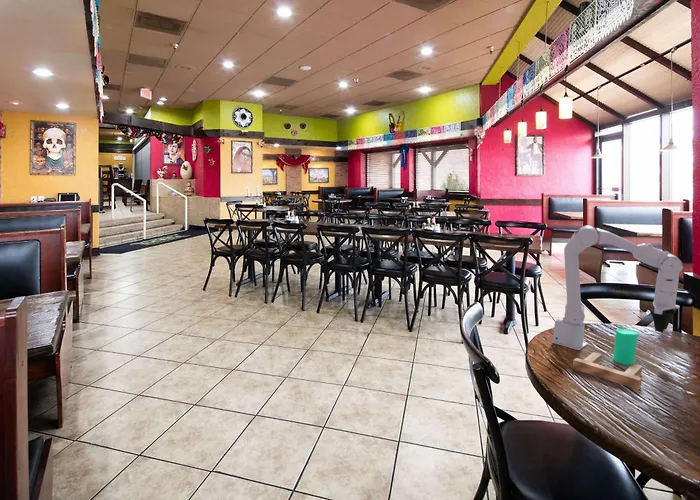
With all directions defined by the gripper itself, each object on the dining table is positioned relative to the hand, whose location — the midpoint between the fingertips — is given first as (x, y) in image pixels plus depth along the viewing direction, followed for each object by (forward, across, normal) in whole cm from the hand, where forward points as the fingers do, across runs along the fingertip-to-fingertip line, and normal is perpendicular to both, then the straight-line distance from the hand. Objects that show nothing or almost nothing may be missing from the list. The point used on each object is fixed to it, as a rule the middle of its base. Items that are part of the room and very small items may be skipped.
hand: (660, 329), depth 137 cm
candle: (+11, -10, +7) cm, 16 cm away
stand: (+10, -23, +7) cm, 26 cm away
